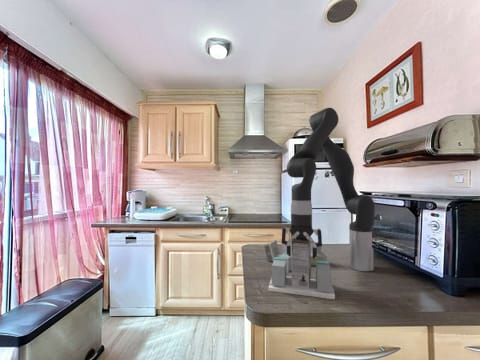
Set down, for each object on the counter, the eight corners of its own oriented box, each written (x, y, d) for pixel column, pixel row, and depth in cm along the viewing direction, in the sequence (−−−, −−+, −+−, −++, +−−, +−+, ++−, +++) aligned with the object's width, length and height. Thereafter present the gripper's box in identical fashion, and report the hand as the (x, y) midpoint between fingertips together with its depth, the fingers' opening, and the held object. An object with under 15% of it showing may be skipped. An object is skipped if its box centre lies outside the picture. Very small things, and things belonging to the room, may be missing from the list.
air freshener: (304, 266, 109) (304, 244, 109) (301, 260, 117) (301, 240, 118) (328, 267, 108) (328, 245, 108) (324, 261, 116) (324, 241, 116)
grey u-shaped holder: (330, 284, 89) (330, 260, 89) (334, 299, 78) (334, 271, 78) (272, 277, 95) (273, 255, 95) (268, 290, 83) (268, 264, 84)
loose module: (295, 268, 107) (295, 253, 107) (287, 272, 102) (288, 257, 102) (286, 265, 110) (286, 251, 110) (278, 269, 105) (278, 254, 105)
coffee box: (293, 276, 92) (293, 235, 92) (310, 279, 90) (310, 236, 90) (291, 286, 83) (291, 240, 83) (310, 289, 81) (310, 242, 81)
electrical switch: (274, 263, 113) (273, 243, 113) (264, 262, 115) (263, 243, 116) (281, 258, 121) (279, 240, 122) (271, 257, 123) (270, 239, 124)
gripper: (320, 212, 88) (321, 255, 88) (282, 210, 92) (282, 252, 92) (322, 214, 81) (322, 261, 81) (280, 213, 85) (280, 258, 85)
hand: (301, 256), depth 86 cm, fingers open, 8 cm apart
